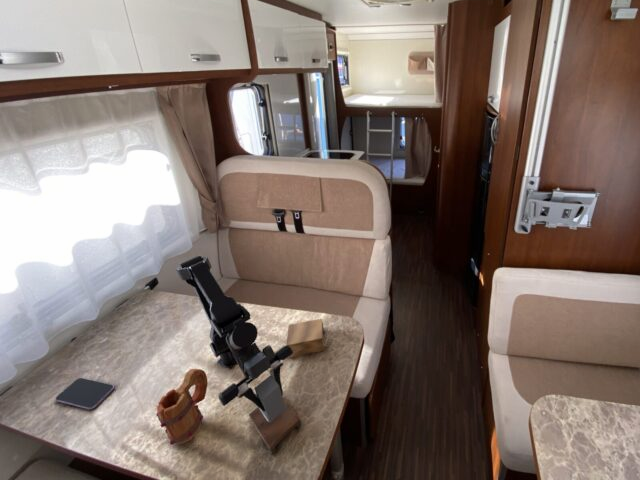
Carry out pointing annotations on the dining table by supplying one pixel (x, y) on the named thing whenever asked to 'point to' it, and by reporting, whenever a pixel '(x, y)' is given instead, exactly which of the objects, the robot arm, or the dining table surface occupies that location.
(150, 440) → the dining table surface
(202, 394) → the mug
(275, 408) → the grey upright block
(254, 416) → the small wooden stand
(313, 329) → the light wood block
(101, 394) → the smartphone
